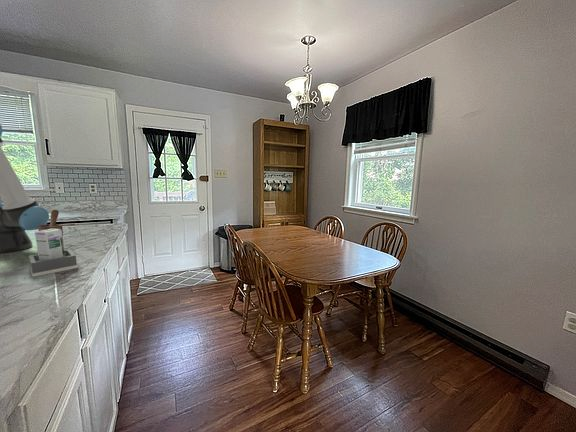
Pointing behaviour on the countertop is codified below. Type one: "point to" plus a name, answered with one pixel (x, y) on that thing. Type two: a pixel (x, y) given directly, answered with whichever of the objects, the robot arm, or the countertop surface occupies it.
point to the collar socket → (52, 264)
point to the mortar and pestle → (52, 222)
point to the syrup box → (49, 244)
